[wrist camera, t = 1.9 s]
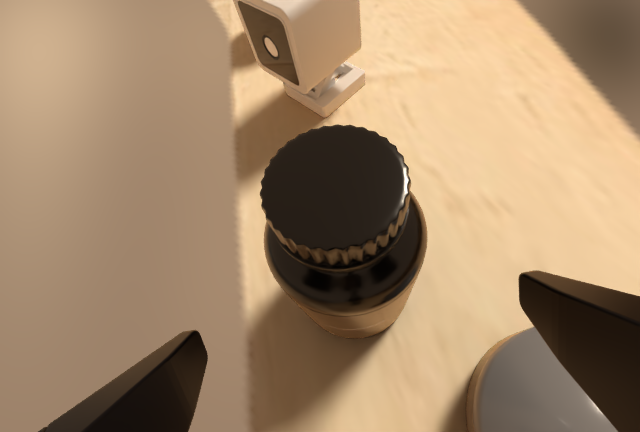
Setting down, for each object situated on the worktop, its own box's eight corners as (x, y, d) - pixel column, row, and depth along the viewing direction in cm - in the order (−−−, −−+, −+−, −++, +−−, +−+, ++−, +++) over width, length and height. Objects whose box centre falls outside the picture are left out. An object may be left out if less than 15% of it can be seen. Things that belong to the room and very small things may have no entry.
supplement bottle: (347, 366, 18) (302, 347, 7) (283, 277, 21) (189, 177, 11) (433, 291, 19) (499, 183, 9) (360, 217, 22) (344, 74, 12)
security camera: (271, 101, 30) (226, -15, 21) (322, 60, 31) (300, -64, 22) (316, 131, 27) (286, 12, 18) (370, 84, 28) (366, -47, 20)
